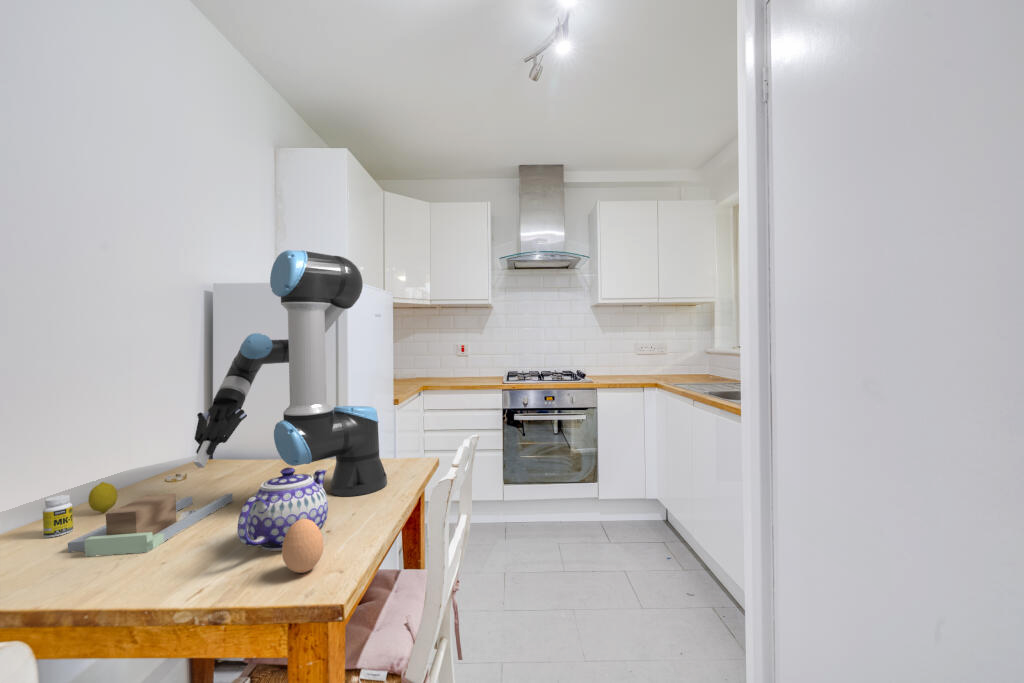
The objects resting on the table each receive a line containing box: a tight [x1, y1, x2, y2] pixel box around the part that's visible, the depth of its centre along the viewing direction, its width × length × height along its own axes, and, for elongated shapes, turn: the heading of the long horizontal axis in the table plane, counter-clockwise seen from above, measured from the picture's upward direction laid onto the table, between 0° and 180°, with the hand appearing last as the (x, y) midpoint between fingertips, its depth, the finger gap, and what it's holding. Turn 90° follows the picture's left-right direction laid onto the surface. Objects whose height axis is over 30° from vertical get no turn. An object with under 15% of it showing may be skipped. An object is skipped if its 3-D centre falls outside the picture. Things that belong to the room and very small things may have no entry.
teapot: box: [237, 467, 329, 552], centre depth 91 cm, size 25×15×15 cm, turn 166°
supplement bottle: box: [42, 494, 74, 539], centre depth 101 cm, size 5×5×8 cm
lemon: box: [88, 481, 118, 514], centre depth 113 cm, size 6×6×8 cm
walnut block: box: [105, 493, 178, 535], centre depth 95 cm, size 11×6×8 cm, turn 2°
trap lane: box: [67, 493, 234, 557], centre depth 103 cm, size 30×18×4 cm, turn 3°
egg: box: [281, 519, 325, 574], centre depth 77 cm, size 7×7×9 cm
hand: (198, 464), depth 114 cm, fingers closed
